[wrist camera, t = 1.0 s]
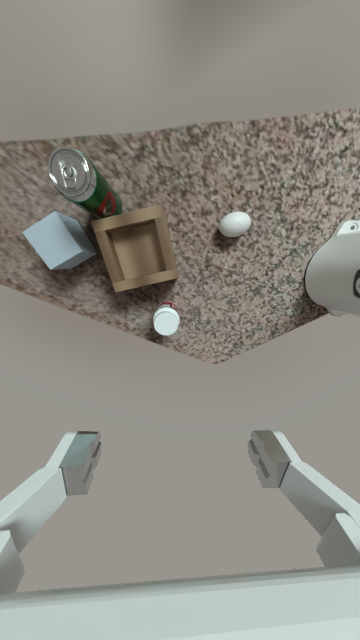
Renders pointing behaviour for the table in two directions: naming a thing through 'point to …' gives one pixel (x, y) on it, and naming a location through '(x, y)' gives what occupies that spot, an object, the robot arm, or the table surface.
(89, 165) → the soda can
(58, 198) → the table surface
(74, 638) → the robot arm
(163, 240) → the wooden open box
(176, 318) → the pill bottle
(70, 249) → the slate block
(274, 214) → the table surface
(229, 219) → the egg
